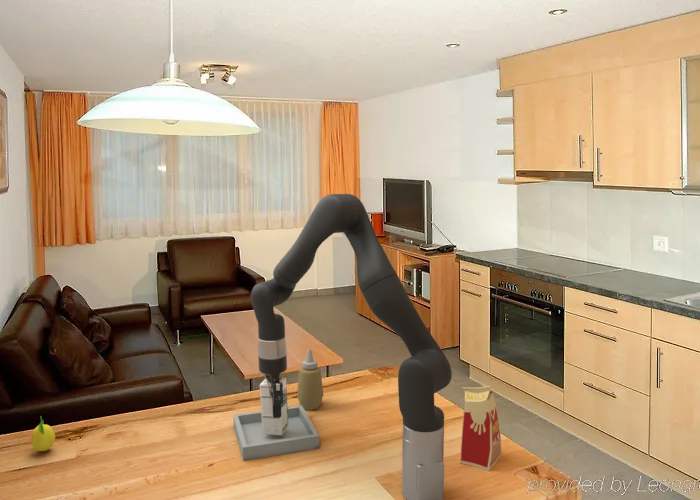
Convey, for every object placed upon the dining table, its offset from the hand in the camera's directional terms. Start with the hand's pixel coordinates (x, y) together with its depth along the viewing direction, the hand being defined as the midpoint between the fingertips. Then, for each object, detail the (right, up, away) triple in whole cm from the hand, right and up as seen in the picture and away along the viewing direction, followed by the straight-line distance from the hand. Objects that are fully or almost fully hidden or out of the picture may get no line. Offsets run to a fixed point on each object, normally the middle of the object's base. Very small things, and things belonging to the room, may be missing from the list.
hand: (274, 410), depth 164 cm
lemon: (-60, -9, -6) cm, 61 cm away
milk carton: (+53, -9, -11) cm, 55 cm away
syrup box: (0, -6, +1) cm, 6 cm away
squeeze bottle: (+8, -4, +21) cm, 23 cm away
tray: (0, -7, +1) cm, 8 cm away
